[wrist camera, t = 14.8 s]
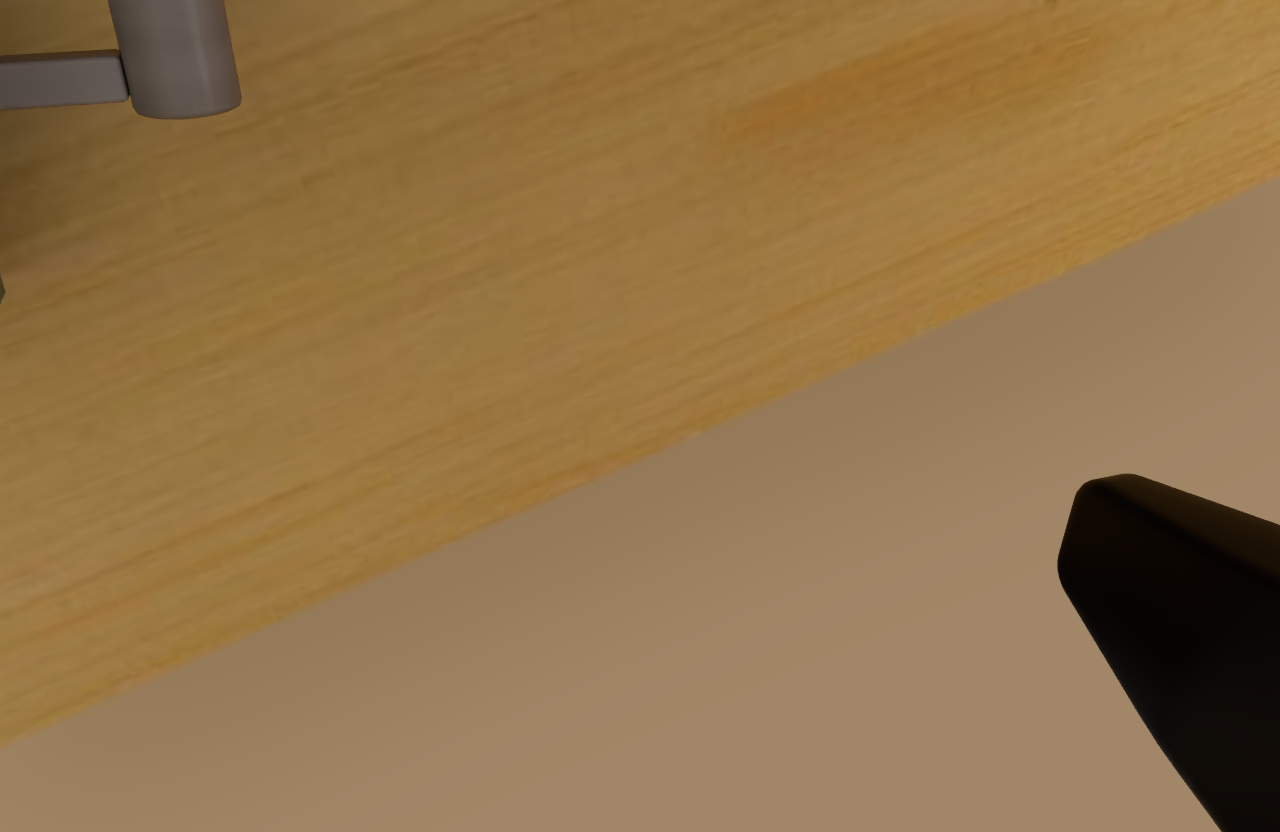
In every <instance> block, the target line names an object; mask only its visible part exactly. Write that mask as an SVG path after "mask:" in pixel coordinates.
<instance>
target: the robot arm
mask: <svg viewBox="0 0 1280 832" xmlns="http://www.w3.org/2000/svg"><path fill="white" fill-rule="evenodd" d="M1057 566H1058V574H1059V579H1060V582H1061V584H1062V587H1063V589H1064V591H1065V592H1066V594H1067V596H1068V598H1069V599H1070V601H1071V602H1072V604H1073V606H1074V607H1075V609H1076V611H1077V612H1078V614H1079V616H1080V617H1081V619H1082V621H1083V622H1084V624H1085V626H1086V627H1087V629H1088V631H1089V632H1090V634H1091V636H1092V637H1093V639H1094V641H1095V642H1096V644H1097V646H1098V647H1099V649H1100V651H1101V652H1102V654H1103V655H1104V657H1105V659H1106V660H1107V662H1108V664H1109V666H1110V667H1111V669H1112V670H1113V672H1114V674H1115V675H1116V677H1117V679H1118V680H1119V682H1120V684H1121V685H1122V687H1123V689H1124V690H1125V692H1126V694H1127V695H1128V697H1129V699H1130V700H1131V702H1132V704H1133V705H1134V707H1135V709H1136V710H1137V712H1138V714H1139V715H1140V717H1141V719H1142V720H1143V721H1144V723H1145V725H1146V726H1147V728H1148V729H1149V731H1150V732H1151V734H1152V736H1153V737H1154V739H1155V740H1156V742H1157V744H1158V745H1159V746H1160V748H1161V749H1162V751H1163V752H1164V754H1165V755H1166V756H1167V758H1168V759H1169V761H1170V762H1171V763H1172V765H1173V766H1174V768H1175V769H1176V771H1177V772H1178V773H1179V775H1180V776H1181V777H1182V779H1183V780H1184V781H1185V783H1186V784H1187V786H1188V787H1189V788H1190V789H1191V791H1192V792H1193V794H1194V795H1195V796H1196V798H1197V799H1198V800H1199V802H1200V803H1201V804H1202V806H1203V807H1204V809H1205V810H1206V811H1207V813H1208V814H1209V815H1210V816H1211V818H1212V819H1213V821H1214V822H1215V823H1216V825H1217V826H1218V827H1219V829H1220V830H1221V832H1280V525H1278V524H1276V523H1273V522H1270V521H1267V520H1264V519H1261V518H1258V517H1255V516H1253V515H1250V514H1247V513H1244V512H1241V511H1239V510H1236V509H1233V508H1230V507H1227V506H1224V505H1222V504H1218V503H1216V502H1213V501H1210V500H1207V499H1204V498H1202V497H1199V496H1196V495H1193V494H1190V493H1187V492H1184V491H1182V490H1179V489H1176V488H1173V487H1170V486H1168V485H1165V484H1162V483H1159V482H1156V481H1153V480H1150V479H1148V478H1145V477H1142V476H1138V475H1135V474H1119V475H1114V476H1109V477H1104V478H1099V479H1094V480H1090V481H1088V482H1086V483H1084V484H1083V485H1082V486H1081V488H1080V489H1079V490H1078V491H1077V493H1076V495H1075V498H1074V501H1073V505H1072V509H1071V512H1070V516H1069V519H1068V523H1067V526H1066V530H1065V533H1064V537H1063V541H1062V544H1061V548H1060V551H1059V555H1058V564H1057Z"/></svg>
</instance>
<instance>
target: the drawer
mask: <svg viewBox="0 0 1280 832" xmlns="http://www.w3.org/2000/svg"><path fill="white" fill-rule="evenodd" d="M108 4H109V8H110V12H111V16H112V21H113V25H114V29H115V33H116V38H117V42H118V46H119V50H117V49H109V50H91V51H74V52H56V53H39V54H21V55H4V56H0V111H1V110H15V109H30V108H44V107H58V106H72V105H87V104H101V103H115V102H124V101H126V100H128V98H129V95H130V97H131V101H132V105H133V108H134V109H135V111H136V112H137V113H138V114H139V115H142V116H145V117H150V118H156V119H191V118H200V117H207V116H213V115H217V114H221V113H224V112H227V111H230V110H232V109H234V108H236V107H238V106H239V105H240V102H241V98H242V97H241V92H240V86H239V81H238V76H237V70H236V65H235V59H234V54H233V49H232V43H231V38H230V32H229V27H228V22H227V16H226V11H225V5H224V0H108ZM4 295H5V289H4V285H3V282H2V279H1V276H0V303H1V301H2V299H3V297H4Z"/></svg>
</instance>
